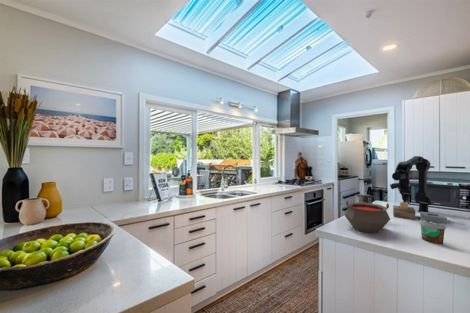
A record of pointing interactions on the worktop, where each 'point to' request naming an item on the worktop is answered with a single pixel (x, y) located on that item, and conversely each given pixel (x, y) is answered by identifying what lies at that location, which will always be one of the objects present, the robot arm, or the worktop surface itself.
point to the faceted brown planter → (367, 216)
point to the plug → (404, 205)
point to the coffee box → (363, 198)
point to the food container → (432, 231)
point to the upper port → (404, 212)
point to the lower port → (433, 217)
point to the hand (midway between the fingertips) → (403, 201)
